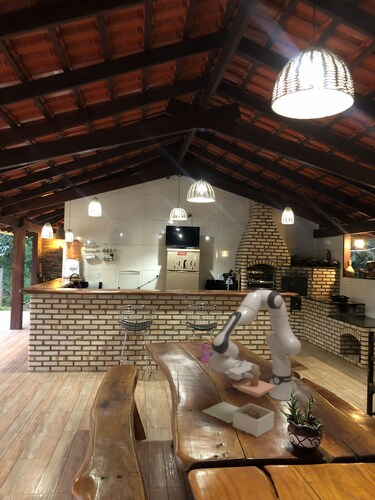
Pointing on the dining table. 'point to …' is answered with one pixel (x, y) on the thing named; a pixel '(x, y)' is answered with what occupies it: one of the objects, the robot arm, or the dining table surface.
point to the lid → (254, 384)
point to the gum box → (206, 352)
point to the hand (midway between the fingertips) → (256, 375)
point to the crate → (253, 419)
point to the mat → (222, 411)
